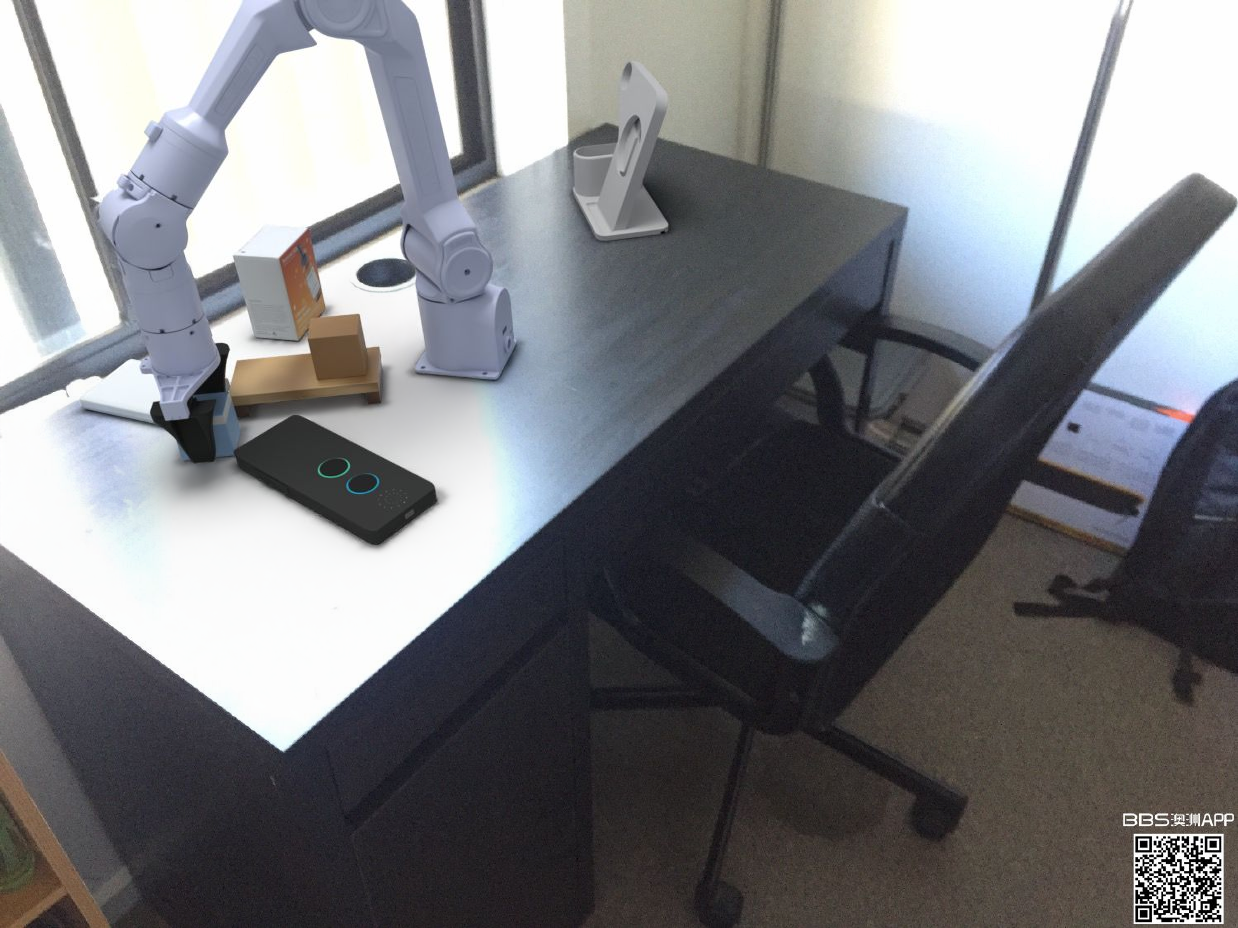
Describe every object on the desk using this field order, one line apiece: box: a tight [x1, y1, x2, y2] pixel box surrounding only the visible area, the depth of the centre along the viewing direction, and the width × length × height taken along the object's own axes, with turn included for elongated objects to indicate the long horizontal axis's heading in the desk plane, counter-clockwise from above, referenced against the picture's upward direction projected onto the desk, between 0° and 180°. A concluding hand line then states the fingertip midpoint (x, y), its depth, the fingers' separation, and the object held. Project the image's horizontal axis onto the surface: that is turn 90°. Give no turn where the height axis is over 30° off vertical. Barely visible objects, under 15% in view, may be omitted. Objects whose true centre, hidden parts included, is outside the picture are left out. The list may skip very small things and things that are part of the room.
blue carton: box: [176, 391, 242, 462], centre depth 103 cm, size 5×4×5 cm
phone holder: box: [572, 59, 669, 242], centre depth 140 cm, size 17×10×18 cm, turn 14°
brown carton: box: [307, 313, 367, 380], centre depth 109 cm, size 5×4×5 cm
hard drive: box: [79, 358, 231, 425], centre depth 111 cm, size 2×8×12 cm
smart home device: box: [233, 414, 438, 545], centre depth 99 cm, size 8×2×20 cm
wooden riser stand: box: [228, 346, 384, 419], centre depth 111 cm, size 15×7×3 cm, turn 99°
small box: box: [232, 224, 327, 341], centre depth 120 cm, size 8×6×10 cm
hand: (210, 437), depth 104 cm, fingers open, 7 cm apart
